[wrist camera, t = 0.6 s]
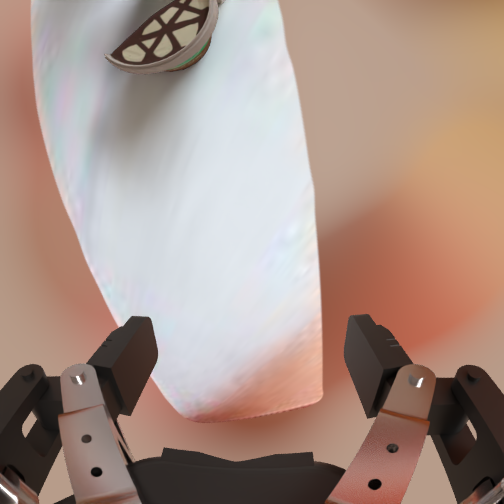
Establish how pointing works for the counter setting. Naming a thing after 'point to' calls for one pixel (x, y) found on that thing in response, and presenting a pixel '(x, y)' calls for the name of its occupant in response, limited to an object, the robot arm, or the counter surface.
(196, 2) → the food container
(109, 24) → the counter surface
